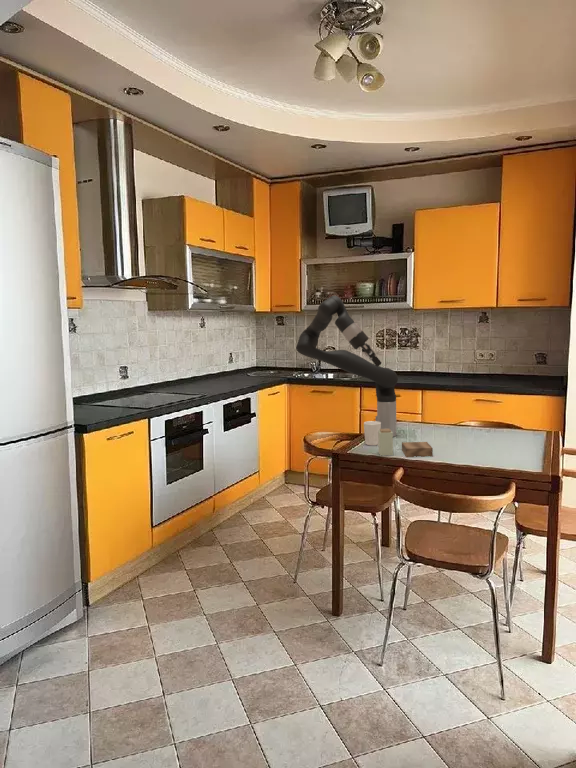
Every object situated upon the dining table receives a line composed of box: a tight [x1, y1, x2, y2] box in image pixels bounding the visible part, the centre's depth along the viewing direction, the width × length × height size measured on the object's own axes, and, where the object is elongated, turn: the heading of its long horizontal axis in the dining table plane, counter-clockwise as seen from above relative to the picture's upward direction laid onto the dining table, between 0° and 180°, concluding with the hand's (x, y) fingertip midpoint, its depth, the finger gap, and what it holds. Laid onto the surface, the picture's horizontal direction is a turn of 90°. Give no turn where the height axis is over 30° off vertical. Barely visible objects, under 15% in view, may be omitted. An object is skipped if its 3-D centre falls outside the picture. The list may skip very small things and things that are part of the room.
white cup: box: [363, 420, 381, 446], centre depth 264 cm, size 8×8×10 cm
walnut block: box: [401, 441, 434, 458], centre depth 245 cm, size 11×11×4 cm
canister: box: [377, 429, 394, 456], centre depth 245 cm, size 5×5×11 cm
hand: (379, 365), depth 242 cm, fingers open, 8 cm apart
